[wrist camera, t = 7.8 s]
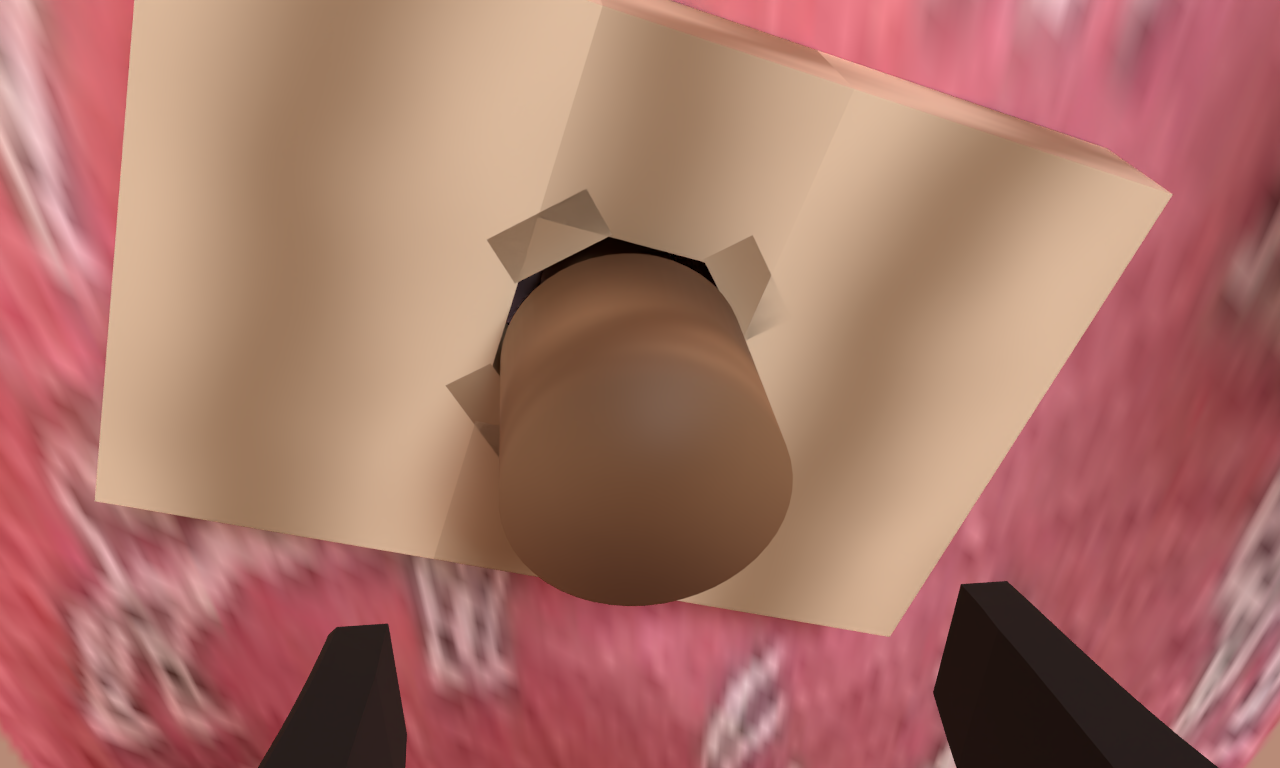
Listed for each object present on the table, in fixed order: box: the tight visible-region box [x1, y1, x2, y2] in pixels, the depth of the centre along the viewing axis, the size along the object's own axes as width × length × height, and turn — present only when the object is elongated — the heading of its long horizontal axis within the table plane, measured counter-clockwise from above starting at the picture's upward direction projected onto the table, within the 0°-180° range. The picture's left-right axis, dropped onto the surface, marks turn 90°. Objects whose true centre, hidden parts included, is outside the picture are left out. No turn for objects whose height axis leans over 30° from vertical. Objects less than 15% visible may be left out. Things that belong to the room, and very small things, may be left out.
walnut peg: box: [499, 237, 793, 606], centre depth 19 cm, size 5×5×7 cm
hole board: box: [95, 0, 1173, 637], centre depth 20 cm, size 18×12×2 cm, turn 71°
